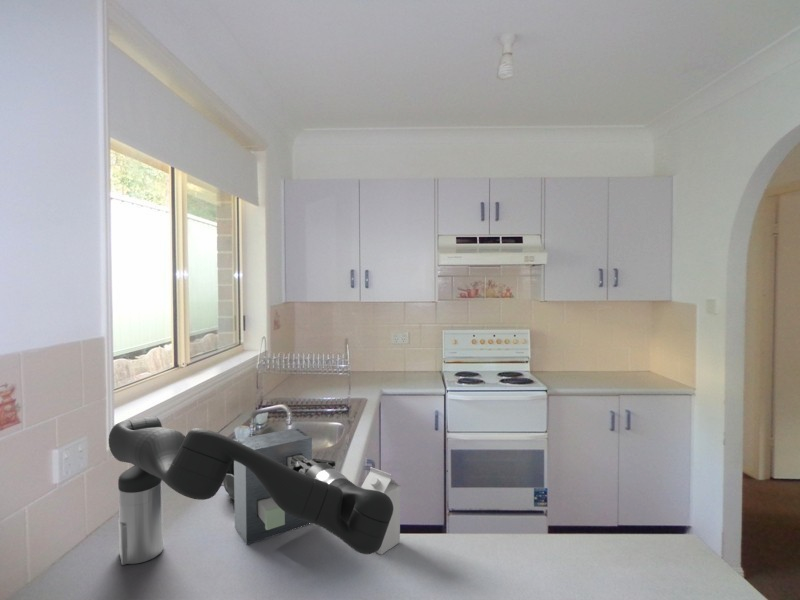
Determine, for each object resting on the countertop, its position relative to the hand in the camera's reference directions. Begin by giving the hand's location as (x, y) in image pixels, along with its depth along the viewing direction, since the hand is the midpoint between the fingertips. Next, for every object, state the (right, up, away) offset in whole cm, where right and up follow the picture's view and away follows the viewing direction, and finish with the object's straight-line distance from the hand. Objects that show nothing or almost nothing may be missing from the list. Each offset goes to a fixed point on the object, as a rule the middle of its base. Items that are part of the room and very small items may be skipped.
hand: (294, 460), depth 113 cm
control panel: (-9, -23, +16) cm, 29 cm away
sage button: (-8, -17, +7) cm, 20 cm away
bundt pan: (-17, -22, +36) cm, 46 cm away
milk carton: (+20, -24, +7) cm, 32 cm away
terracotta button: (-1, -8, +11) cm, 13 cm away
